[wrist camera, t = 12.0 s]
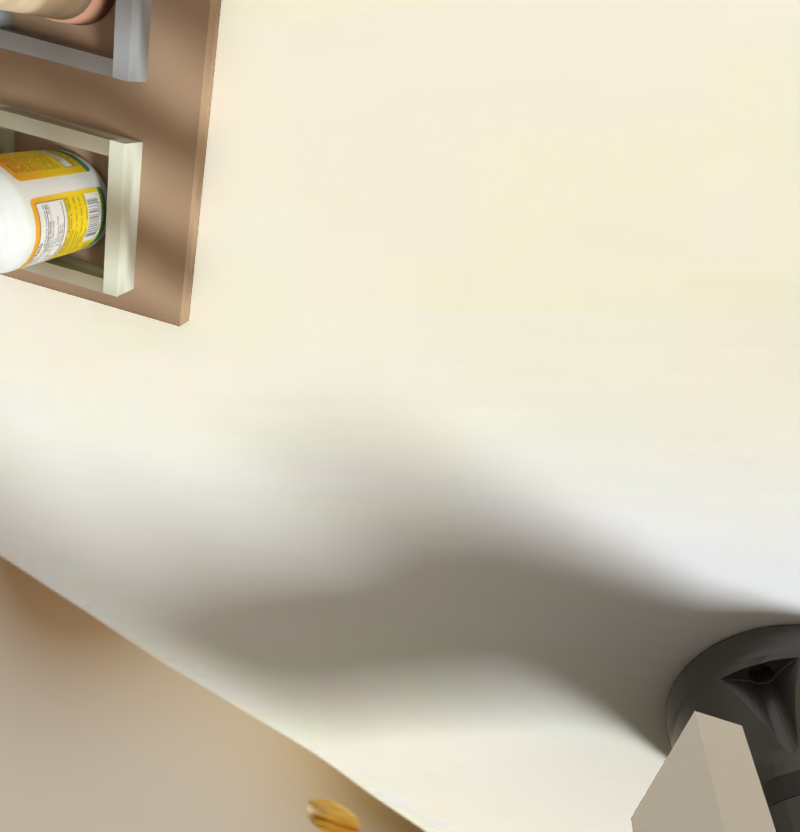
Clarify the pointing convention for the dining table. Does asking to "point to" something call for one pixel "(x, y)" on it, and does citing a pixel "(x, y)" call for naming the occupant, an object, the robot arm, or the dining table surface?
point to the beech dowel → (61, 9)
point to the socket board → (120, 139)
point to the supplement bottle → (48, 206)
